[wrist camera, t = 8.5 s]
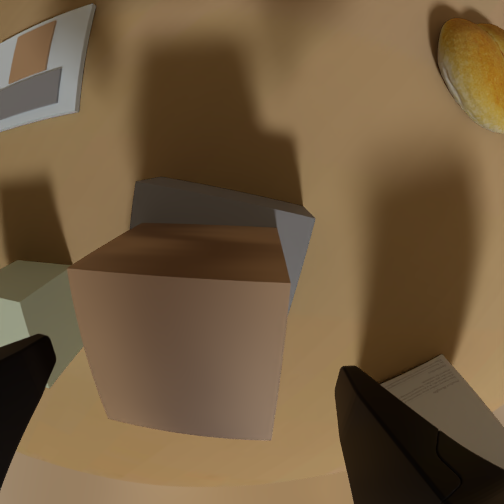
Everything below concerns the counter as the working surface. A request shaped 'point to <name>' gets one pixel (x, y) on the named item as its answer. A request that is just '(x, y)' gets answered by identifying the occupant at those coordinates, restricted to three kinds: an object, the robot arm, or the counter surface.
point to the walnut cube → (186, 327)
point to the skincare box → (451, 407)
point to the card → (44, 69)
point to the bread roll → (474, 69)
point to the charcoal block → (225, 214)
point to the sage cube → (39, 309)
